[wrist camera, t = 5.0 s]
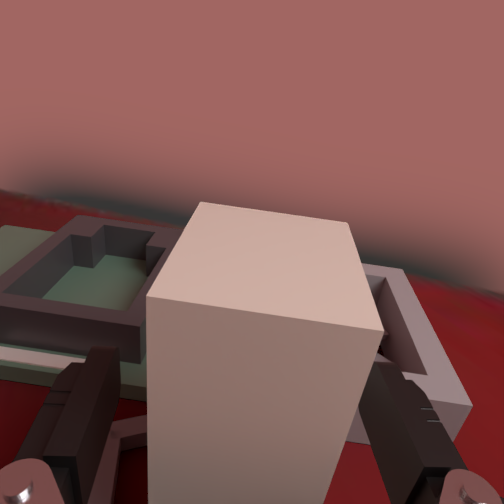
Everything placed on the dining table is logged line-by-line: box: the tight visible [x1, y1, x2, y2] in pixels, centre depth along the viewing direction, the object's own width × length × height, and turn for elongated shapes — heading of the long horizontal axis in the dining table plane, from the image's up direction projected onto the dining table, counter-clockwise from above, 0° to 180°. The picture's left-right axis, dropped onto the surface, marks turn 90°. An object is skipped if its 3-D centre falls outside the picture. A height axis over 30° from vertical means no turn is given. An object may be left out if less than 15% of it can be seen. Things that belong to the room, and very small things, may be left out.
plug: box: [146, 202, 384, 504], centre depth 13 cm, size 4×6×12 cm
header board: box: [0, 215, 184, 402], centre depth 25 cm, size 18×14×4 cm
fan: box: [87, 263, 473, 504], centre depth 21 cm, size 16×18×4 cm
